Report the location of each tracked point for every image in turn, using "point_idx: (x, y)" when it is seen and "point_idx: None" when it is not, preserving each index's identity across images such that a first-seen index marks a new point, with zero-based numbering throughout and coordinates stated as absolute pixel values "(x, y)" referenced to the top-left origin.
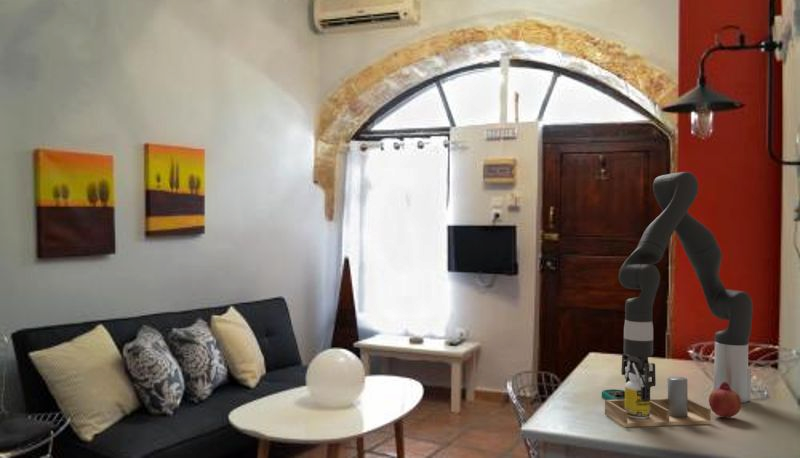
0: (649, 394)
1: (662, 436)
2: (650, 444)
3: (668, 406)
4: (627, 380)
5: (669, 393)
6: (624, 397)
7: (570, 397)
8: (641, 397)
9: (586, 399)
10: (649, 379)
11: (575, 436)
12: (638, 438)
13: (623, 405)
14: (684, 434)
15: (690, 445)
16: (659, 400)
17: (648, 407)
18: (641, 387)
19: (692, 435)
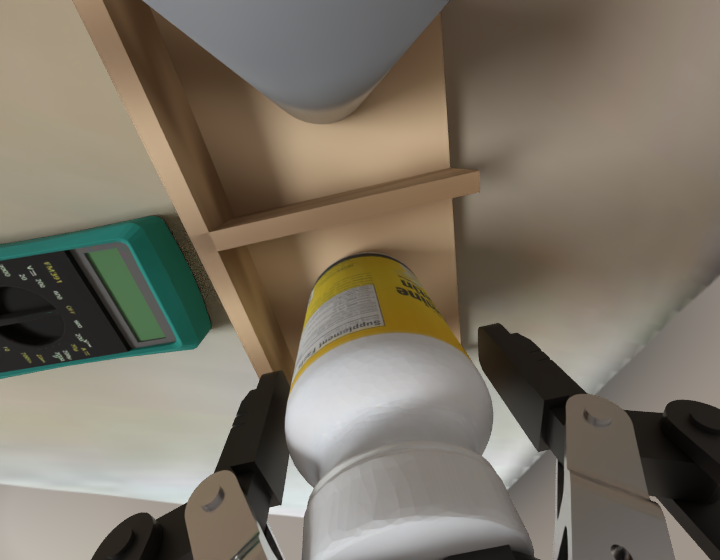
0: (548, 361)
1: (582, 249)
2: (645, 313)
3: (321, 120)
4: (282, 497)
5: (345, 103)
6: (6, 294)
7: (76, 460)
8: (494, 379)
9: (77, 419)
10: (640, 484)
11: (525, 467)
12: (580, 334)
13: (279, 354)
14: (583, 136)
15: (716, 168)
16: (173, 143)
17: (421, 287)
18: (539, 446)
19: (607, 96)
